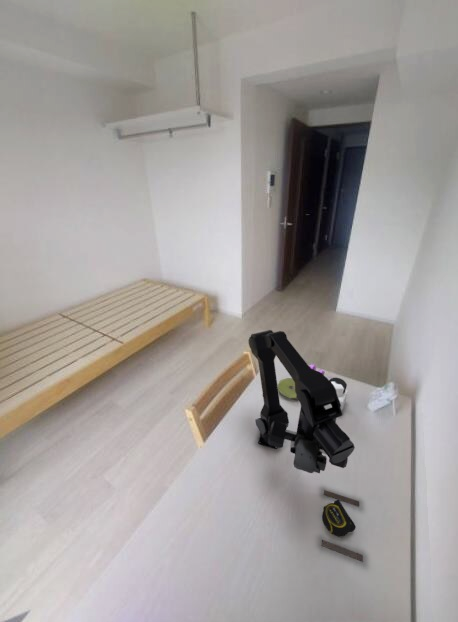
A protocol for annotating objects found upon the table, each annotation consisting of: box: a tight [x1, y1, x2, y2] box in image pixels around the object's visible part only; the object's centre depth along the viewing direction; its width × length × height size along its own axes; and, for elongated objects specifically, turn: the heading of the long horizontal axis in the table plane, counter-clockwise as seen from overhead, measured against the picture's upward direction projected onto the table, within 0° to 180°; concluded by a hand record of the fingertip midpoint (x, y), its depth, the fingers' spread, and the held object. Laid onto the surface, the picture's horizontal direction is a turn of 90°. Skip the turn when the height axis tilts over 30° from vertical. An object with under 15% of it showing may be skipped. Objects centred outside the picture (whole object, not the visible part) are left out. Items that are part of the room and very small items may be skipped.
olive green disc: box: [277, 377, 297, 399], centre depth 110 cm, size 11×11×2 cm
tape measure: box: [321, 499, 357, 538], centre depth 68 cm, size 7×7×4 cm
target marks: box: [321, 489, 364, 562], centre depth 69 cm, size 9×13×1 cm
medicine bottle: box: [324, 377, 349, 411], centre depth 101 cm, size 7×7×12 cm
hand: (302, 462), depth 72 cm, fingers closed
